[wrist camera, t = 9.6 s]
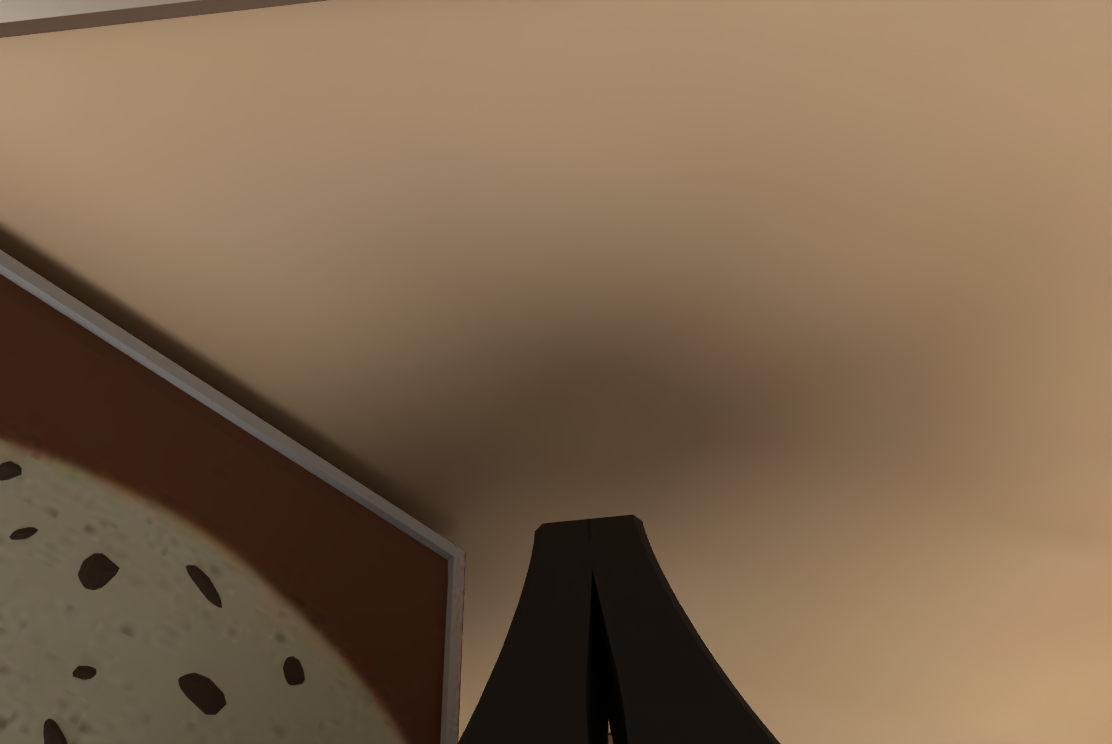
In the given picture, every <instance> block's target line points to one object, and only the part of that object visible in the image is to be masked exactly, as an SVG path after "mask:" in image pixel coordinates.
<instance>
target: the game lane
mask: <svg viewBox="0 0 1112 744" xmlns="http://www.w3.org/2000/svg"><path fill="white" fill-rule="evenodd" d="M317 1H326V0H0V38H2V37H11V36H20V35H29V34H37V33H46V32H55V31H64V30H72V29H81V28H90V27H99V26H107V25H116V24H125V23H134V22H142V21H151V20H160V19H169V18H177V17H186V16H195V15H204V14H212V13H221V12H230V11H239V10H247V9H256V8H265V7H274V6H282V5H291V4H300V3H309V2H317ZM608 744H613V740H612V735H608Z"/></svg>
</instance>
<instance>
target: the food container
mask: <svg viewBox="0 0 1112 744" xmlns="http://www.w3.org/2000/svg"><path fill="white" fill-rule="evenodd" d="M465 560H466V552H465V551H464V550H462V549H461V548H459V547H458V546H456V545H454V544H453V543H451V542H450V541H448V540H447V539H445V538H444V537H442V536H441V535H439V534H438V533H436V532H434V531H433V530H431V529H430V528H428V527H427V526H425V525H424V524H422V523H421V522H419V521H418V520H416V519H414V518H413V517H411V516H410V515H408V514H407V513H405V512H404V511H402V510H401V509H399V508H397V507H396V506H394V505H393V504H391V503H390V502H388V501H387V500H385V499H384V498H382V497H381V496H379V495H377V494H376V493H374V492H373V491H371V490H370V489H368V488H367V487H365V486H364V485H362V484H361V483H359V482H357V481H356V480H354V479H353V478H351V477H350V476H348V475H347V474H345V473H344V472H342V471H340V470H339V469H337V468H336V467H334V466H333V465H331V464H330V463H328V462H327V461H325V460H324V459H322V458H320V457H319V456H317V455H316V454H314V453H313V452H311V451H310V450H308V449H307V448H305V447H304V446H302V445H300V444H299V443H297V442H296V441H294V440H293V439H291V438H290V437H288V436H287V435H285V434H283V433H282V432H280V431H279V430H277V429H276V428H274V427H273V426H271V425H270V424H268V423H267V422H265V421H263V420H262V419H260V418H259V417H257V416H256V415H254V414H253V413H251V412H250V411H248V410H247V409H245V408H243V407H242V406H240V405H239V404H237V403H236V402H234V401H233V400H231V399H230V398H228V397H227V396H225V395H223V394H222V393H220V392H219V391H217V390H216V389H214V388H213V387H211V386H210V385H208V384H206V383H205V382H203V381H202V380H200V379H199V378H197V377H196V376H194V375H193V374H191V373H190V372H188V371H186V370H185V369H183V368H182V367H180V366H179V365H177V364H176V363H174V362H173V361H171V360H170V359H168V358H166V357H165V356H163V355H162V354H160V353H159V352H157V351H156V350H154V349H153V348H151V347H149V346H148V345H146V344H145V343H143V342H142V341H140V340H139V339H137V338H136V337H134V336H133V335H131V334H129V333H128V332H126V331H125V330H123V329H122V328H120V327H119V326H117V325H116V324H114V323H113V322H111V321H109V320H108V319H106V318H105V317H103V316H102V315H100V314H99V313H97V312H96V311H94V310H92V309H91V308H89V307H88V306H86V305H85V304H83V303H82V302H80V301H79V300H77V299H76V298H74V297H72V296H71V295H69V294H68V293H66V292H65V291H63V290H62V289H60V288H59V287H57V286H56V285H54V284H52V283H51V282H49V281H48V280H46V279H45V278H43V277H42V276H40V275H39V274H37V273H35V272H34V271H32V270H31V269H29V268H28V267H26V266H25V265H23V264H22V263H20V262H19V261H17V260H15V259H14V258H12V257H11V256H9V255H8V254H6V253H5V252H3V251H2V250H0V744H458V734H459V710H460V685H461V660H462V635H463V610H464V585H465Z"/></svg>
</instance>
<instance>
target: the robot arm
mask: <svg viewBox="0 0 1112 744" xmlns="http://www.w3.org/2000/svg"><path fill="white" fill-rule="evenodd" d="M608 719H609V724H610V730H611V735H612V740H613V744H780V743H779V742H778V740H777V739H776V738H775V737H774V736H773V734H772V733H771V732H770V731H769V730H768V728H767V727H766V726H765V725H764V724H763V722H762V721H761V720H760V719H759V718H758V716H757V715H756V714H755V713H754V711H753V710H752V709H751V708H750V706H749V705H748V704H747V702H746V701H745V700H744V699H743V697H742V696H741V695H740V693H739V692H738V691H737V689H736V688H735V687H734V685H733V684H732V682H731V681H730V680H729V678H728V677H727V675H726V674H725V673H724V671H723V670H722V668H721V667H720V666H719V664H718V663H717V661H716V660H715V659H714V657H713V656H712V654H711V653H710V651H709V650H708V648H707V647H706V645H705V644H704V642H703V641H702V639H701V638H700V636H699V634H698V633H697V631H696V629H695V628H694V626H693V624H692V623H691V621H690V620H689V618H688V616H687V615H686V613H685V611H684V610H683V608H682V607H681V605H680V603H679V601H678V600H677V598H676V596H675V594H674V593H673V591H672V589H671V587H670V585H669V583H668V581H667V579H666V577H665V576H664V574H663V572H662V570H661V568H660V566H659V564H658V561H657V559H656V557H655V555H654V553H653V550H652V548H651V546H650V543H649V541H648V538H647V535H646V533H645V530H644V526H643V523H642V521H641V520H640V519H639V518H637V517H636V516H634V515H625V516H615V517H605V518H595V519H585V520H575V521H565V522H554V523H544V524H542V525H541V526H540V527H539V528H538V529H537V530H536V531H535V538H534V545H533V551H532V556H531V560H530V565H529V569H528V573H527V576H526V580H525V583H524V587H523V590H522V593H521V597H520V600H519V603H518V606H517V609H516V612H515V614H514V617H513V620H512V623H511V625H510V628H509V631H508V634H507V636H506V639H505V642H504V645H503V647H502V650H501V652H500V655H499V657H498V660H497V662H496V664H495V666H494V669H493V671H492V673H491V675H490V678H489V680H488V682H487V684H486V687H485V689H484V691H483V693H482V696H481V698H480V700H479V703H478V705H477V707H476V709H475V711H474V713H473V715H472V717H471V719H470V721H469V723H468V725H467V727H466V729H465V731H464V733H463V735H462V736H461V738H460V740H459V742H458V744H608Z"/></svg>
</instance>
